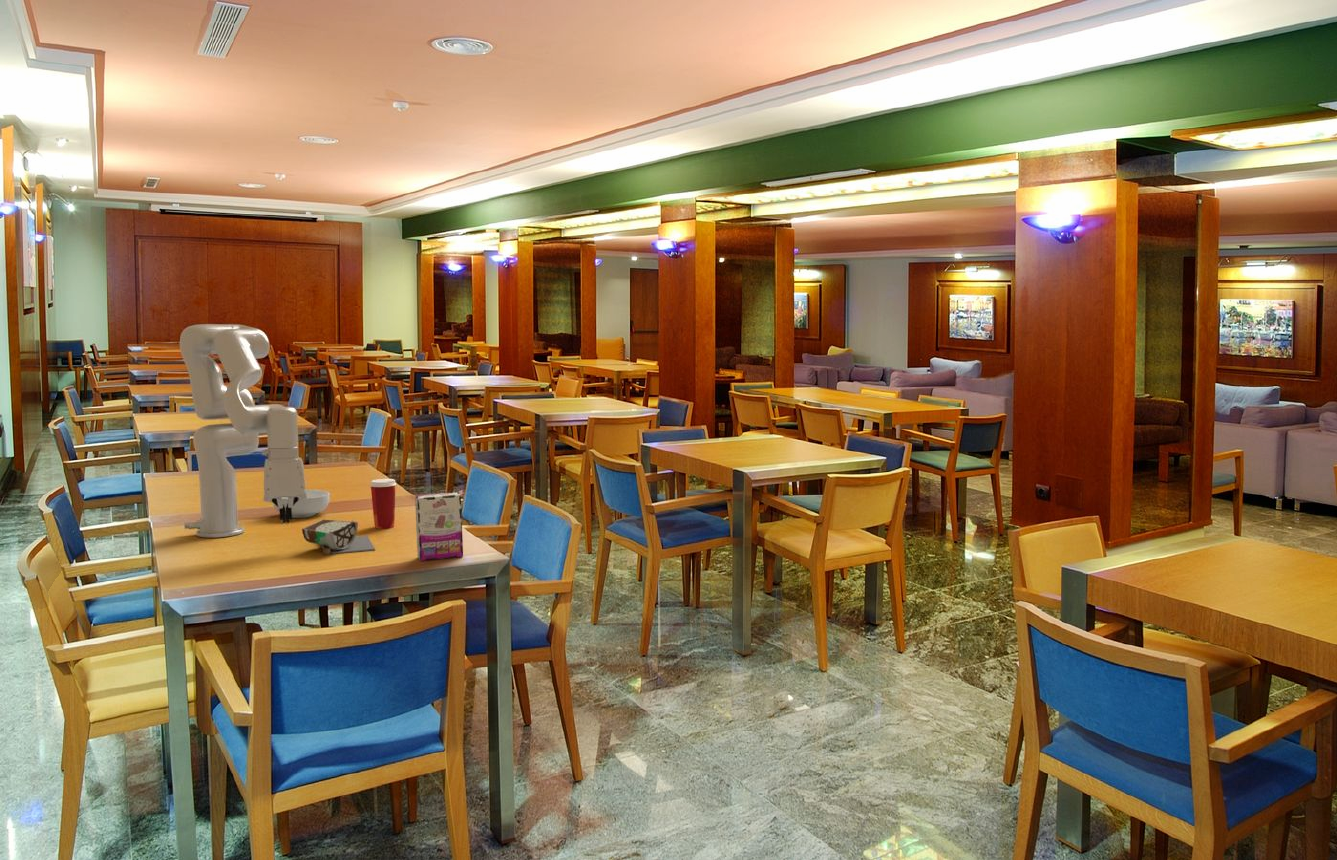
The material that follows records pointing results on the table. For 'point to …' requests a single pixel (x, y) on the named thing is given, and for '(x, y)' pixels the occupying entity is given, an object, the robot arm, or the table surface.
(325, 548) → the rail
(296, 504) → the cereal bowl
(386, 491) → the paper cup
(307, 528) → the food container
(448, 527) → the candy bar box
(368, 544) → the mat
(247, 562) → the table surface
